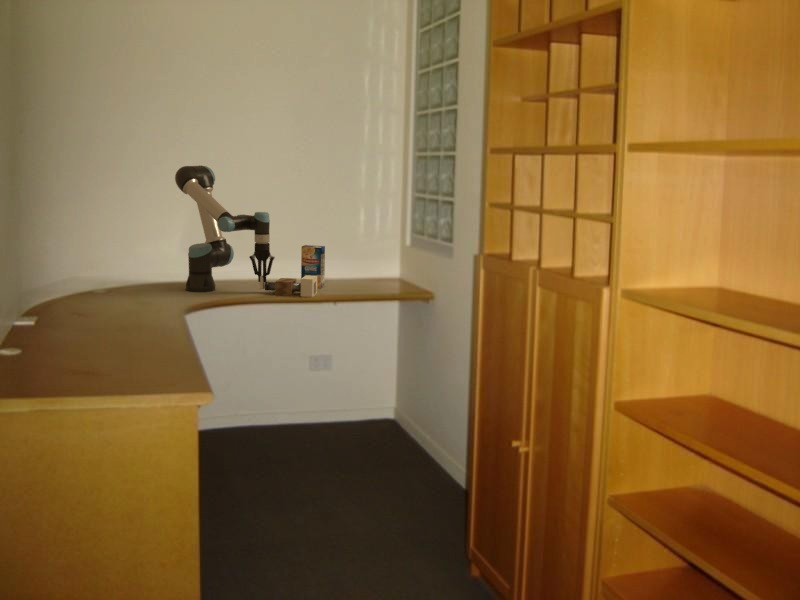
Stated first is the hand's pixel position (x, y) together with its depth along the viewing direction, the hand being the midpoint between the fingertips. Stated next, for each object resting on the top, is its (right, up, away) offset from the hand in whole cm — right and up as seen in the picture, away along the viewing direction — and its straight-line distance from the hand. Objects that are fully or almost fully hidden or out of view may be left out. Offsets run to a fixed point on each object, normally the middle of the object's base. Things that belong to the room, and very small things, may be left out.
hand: (262, 288), depth 468 cm
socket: (+24, -3, -2) cm, 24 cm away
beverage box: (+24, +1, +22) cm, 32 cm away
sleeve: (+12, -3, -1) cm, 13 cm away
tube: (+13, -1, -1) cm, 13 cm away
